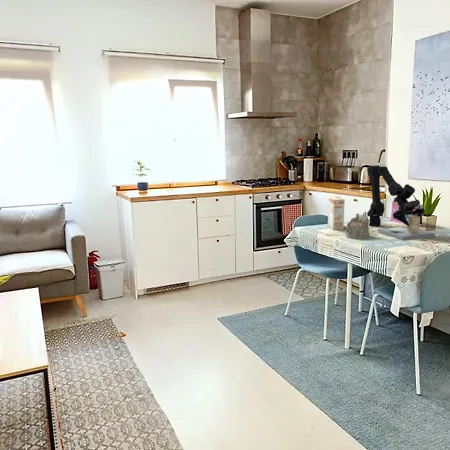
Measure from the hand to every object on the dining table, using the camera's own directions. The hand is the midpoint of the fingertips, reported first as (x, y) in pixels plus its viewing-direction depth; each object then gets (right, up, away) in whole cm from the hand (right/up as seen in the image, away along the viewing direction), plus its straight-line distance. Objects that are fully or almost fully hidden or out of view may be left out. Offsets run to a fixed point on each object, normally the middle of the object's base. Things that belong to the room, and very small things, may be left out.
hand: (415, 225), depth 244 cm
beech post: (0, -5, +2) cm, 5 cm away
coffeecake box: (-38, -2, +33) cm, 50 cm away
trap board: (-2, -6, +8) cm, 10 cm away
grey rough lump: (-32, -7, +9) cm, 34 cm away
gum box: (+13, +1, +43) cm, 45 cm away
